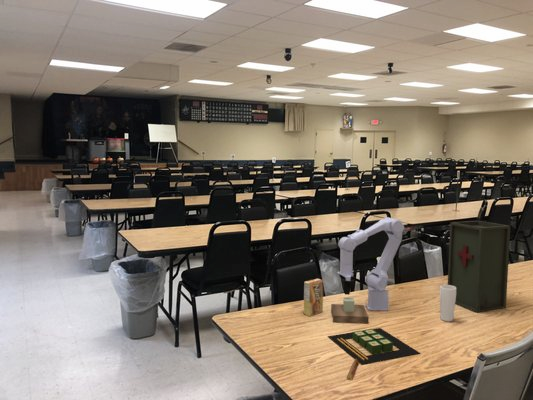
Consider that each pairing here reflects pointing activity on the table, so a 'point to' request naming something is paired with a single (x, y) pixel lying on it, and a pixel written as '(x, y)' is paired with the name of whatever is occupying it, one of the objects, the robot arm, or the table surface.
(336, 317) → the walnut base
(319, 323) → the table surface
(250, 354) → the table surface
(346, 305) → the green block
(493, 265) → the first aid box
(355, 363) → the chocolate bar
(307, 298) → the candy box
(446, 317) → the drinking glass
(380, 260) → the robot arm
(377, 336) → the sushi
